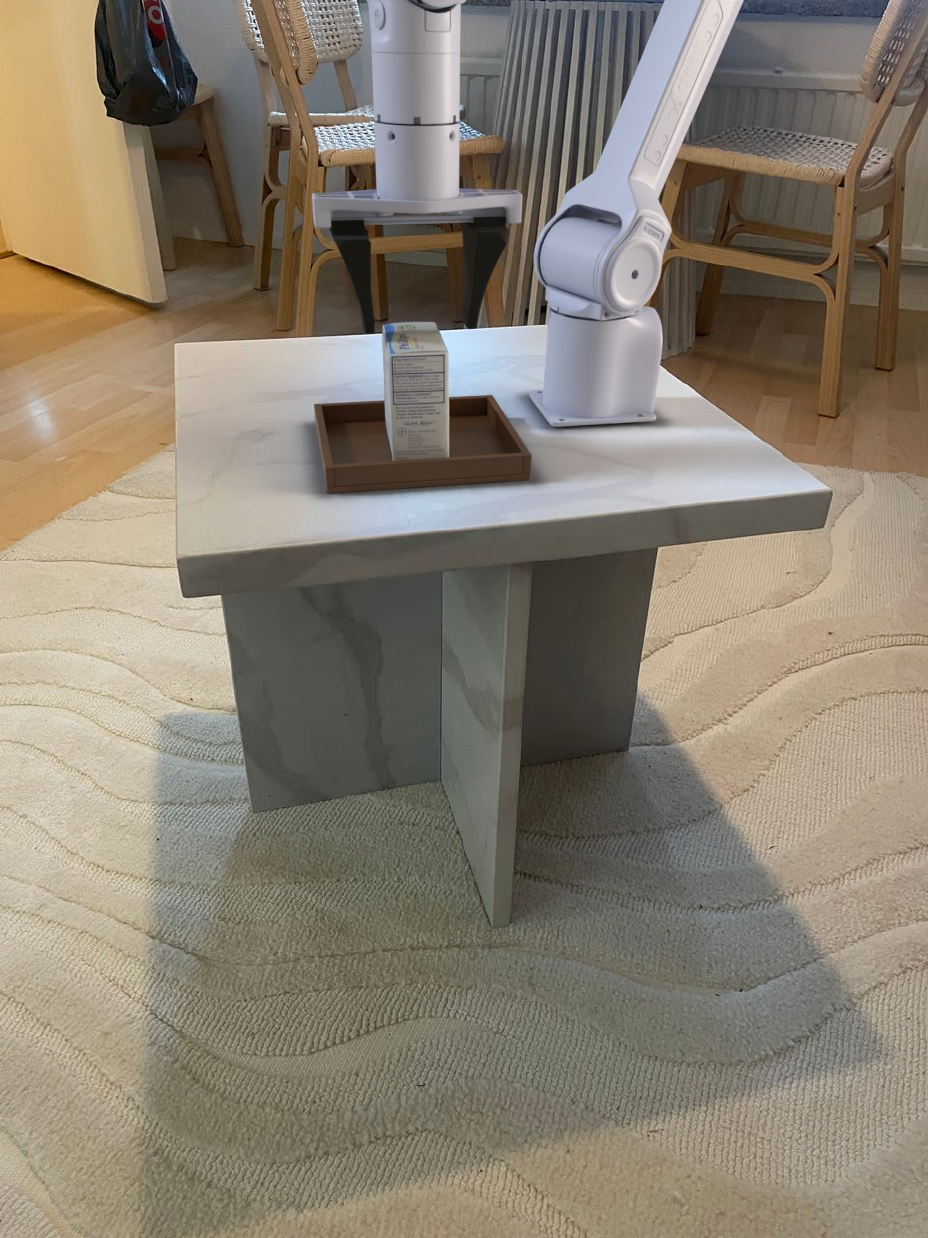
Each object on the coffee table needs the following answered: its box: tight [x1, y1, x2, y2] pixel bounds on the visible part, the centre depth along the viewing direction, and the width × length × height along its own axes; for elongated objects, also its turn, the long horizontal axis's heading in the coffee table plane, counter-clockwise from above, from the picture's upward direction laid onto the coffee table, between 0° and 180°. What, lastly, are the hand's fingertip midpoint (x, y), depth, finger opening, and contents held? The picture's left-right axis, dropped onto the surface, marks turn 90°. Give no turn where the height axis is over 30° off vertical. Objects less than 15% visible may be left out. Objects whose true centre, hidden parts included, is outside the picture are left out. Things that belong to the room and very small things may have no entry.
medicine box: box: [381, 321, 450, 461], centre depth 70 cm, size 8×4×9 cm, turn 8°
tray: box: [313, 394, 533, 494], centre depth 72 cm, size 15×13×2 cm
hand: (419, 327), depth 68 cm, fingers open, 7 cm apart
